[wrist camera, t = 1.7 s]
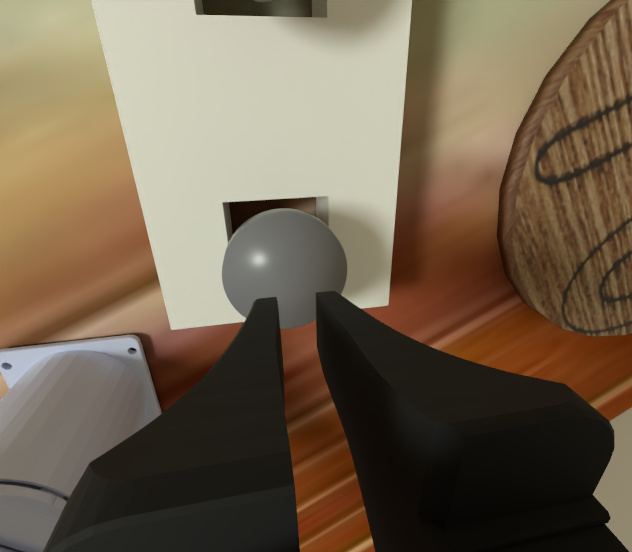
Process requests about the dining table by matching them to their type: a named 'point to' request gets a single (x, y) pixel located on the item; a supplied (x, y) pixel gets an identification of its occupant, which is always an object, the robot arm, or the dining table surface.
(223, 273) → the button
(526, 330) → the dining table surface
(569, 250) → the trivet
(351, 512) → the dining table surface
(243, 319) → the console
